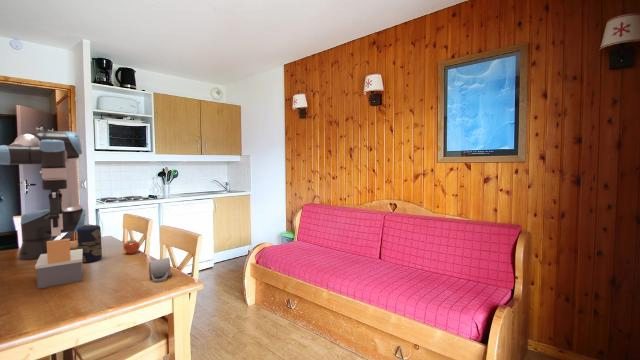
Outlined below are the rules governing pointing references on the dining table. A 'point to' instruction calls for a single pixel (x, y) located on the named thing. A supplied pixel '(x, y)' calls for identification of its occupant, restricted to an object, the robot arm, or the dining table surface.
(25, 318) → the dining table surface
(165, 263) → the ceramic mug
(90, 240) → the canister
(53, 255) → the lid
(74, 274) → the tub
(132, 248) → the tomato
